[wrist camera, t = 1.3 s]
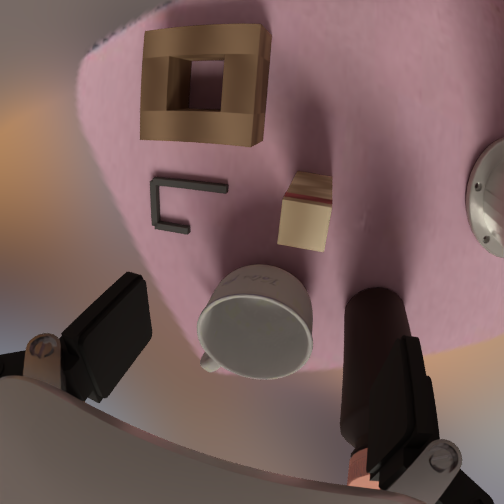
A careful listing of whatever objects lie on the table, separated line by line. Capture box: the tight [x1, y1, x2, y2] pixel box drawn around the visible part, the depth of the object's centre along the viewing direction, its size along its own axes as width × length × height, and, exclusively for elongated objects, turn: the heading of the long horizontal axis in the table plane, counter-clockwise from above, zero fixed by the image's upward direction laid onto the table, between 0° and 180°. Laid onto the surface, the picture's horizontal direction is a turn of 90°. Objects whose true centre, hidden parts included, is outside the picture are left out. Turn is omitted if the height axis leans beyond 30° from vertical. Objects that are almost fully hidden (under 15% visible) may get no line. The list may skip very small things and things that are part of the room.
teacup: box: [197, 264, 313, 380], centre depth 32 cm, size 14×11×8 cm
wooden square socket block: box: [140, 24, 272, 147], centre depth 24 cm, size 10×10×4 cm
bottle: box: [340, 287, 411, 490], centre depth 24 cm, size 7×7×20 cm
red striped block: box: [277, 171, 332, 252], centre depth 25 cm, size 3×3×9 cm
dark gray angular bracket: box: [150, 177, 228, 235], centre depth 32 cm, size 8×6×1 cm
